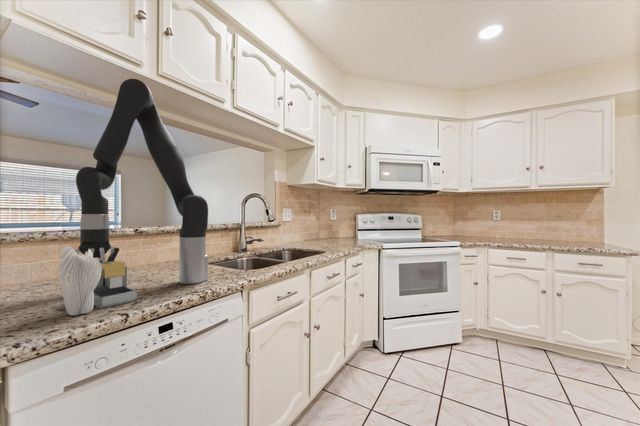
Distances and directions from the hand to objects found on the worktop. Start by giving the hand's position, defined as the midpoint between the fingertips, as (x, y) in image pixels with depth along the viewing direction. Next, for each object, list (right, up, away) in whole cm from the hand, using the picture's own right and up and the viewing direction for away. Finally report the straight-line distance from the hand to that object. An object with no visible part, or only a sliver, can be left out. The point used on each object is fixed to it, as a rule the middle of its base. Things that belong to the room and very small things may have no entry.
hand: (94, 278), depth 93 cm
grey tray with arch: (+12, -4, -9) cm, 16 cm away
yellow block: (+13, +3, -10) cm, 17 cm away
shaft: (+7, -2, -5) cm, 9 cm away
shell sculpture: (+12, -4, -20) cm, 24 cm away
